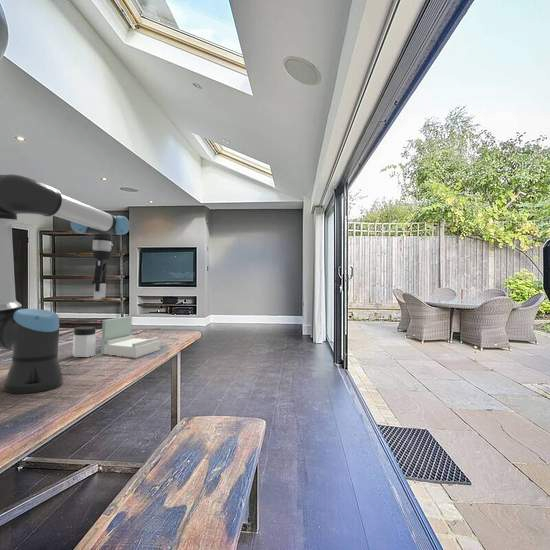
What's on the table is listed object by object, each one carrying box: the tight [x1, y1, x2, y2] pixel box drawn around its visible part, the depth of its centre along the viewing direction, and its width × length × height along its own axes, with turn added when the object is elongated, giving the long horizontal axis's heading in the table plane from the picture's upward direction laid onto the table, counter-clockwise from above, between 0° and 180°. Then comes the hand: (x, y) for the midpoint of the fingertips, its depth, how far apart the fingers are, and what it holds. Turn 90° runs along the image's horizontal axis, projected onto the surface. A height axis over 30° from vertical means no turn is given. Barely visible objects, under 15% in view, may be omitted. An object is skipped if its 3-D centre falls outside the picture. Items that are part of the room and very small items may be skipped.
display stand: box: [100, 315, 161, 359], centre depth 159 cm, size 18×18×15 cm
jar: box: [72, 326, 97, 358], centre depth 149 cm, size 9×8×12 cm
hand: (99, 298), depth 154 cm, fingers open, 13 cm apart
